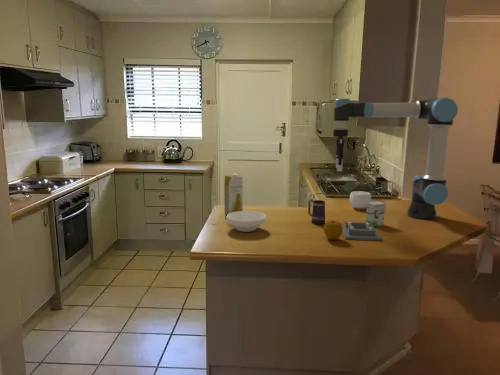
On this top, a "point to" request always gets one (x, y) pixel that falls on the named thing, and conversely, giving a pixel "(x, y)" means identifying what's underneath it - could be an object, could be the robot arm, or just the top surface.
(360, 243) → the top surface
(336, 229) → the apple
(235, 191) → the juice carton
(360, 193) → the cup
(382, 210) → the ink box
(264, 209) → the top surface
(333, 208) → the top surface
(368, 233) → the tray
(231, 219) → the bowl
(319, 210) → the mug
